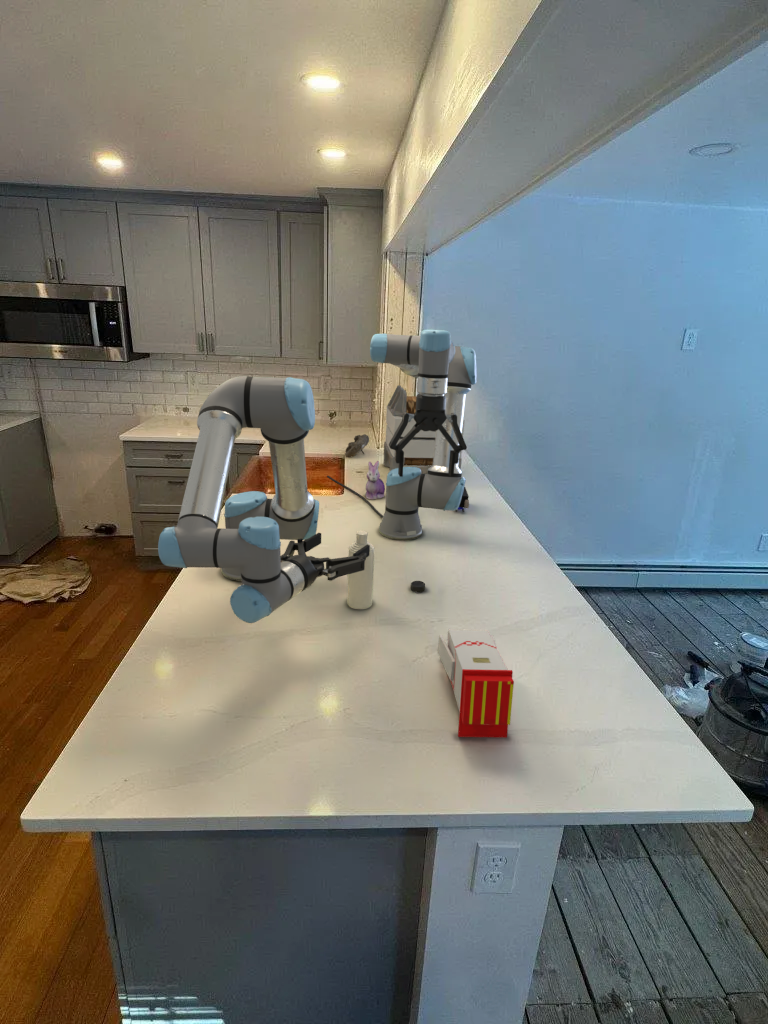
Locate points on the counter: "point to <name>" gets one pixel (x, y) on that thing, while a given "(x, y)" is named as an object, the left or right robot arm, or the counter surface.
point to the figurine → (374, 483)
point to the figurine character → (464, 501)
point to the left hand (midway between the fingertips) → (343, 543)
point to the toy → (478, 682)
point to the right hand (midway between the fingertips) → (425, 475)
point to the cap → (418, 586)
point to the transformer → (420, 444)
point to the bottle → (361, 576)
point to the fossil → (357, 445)
